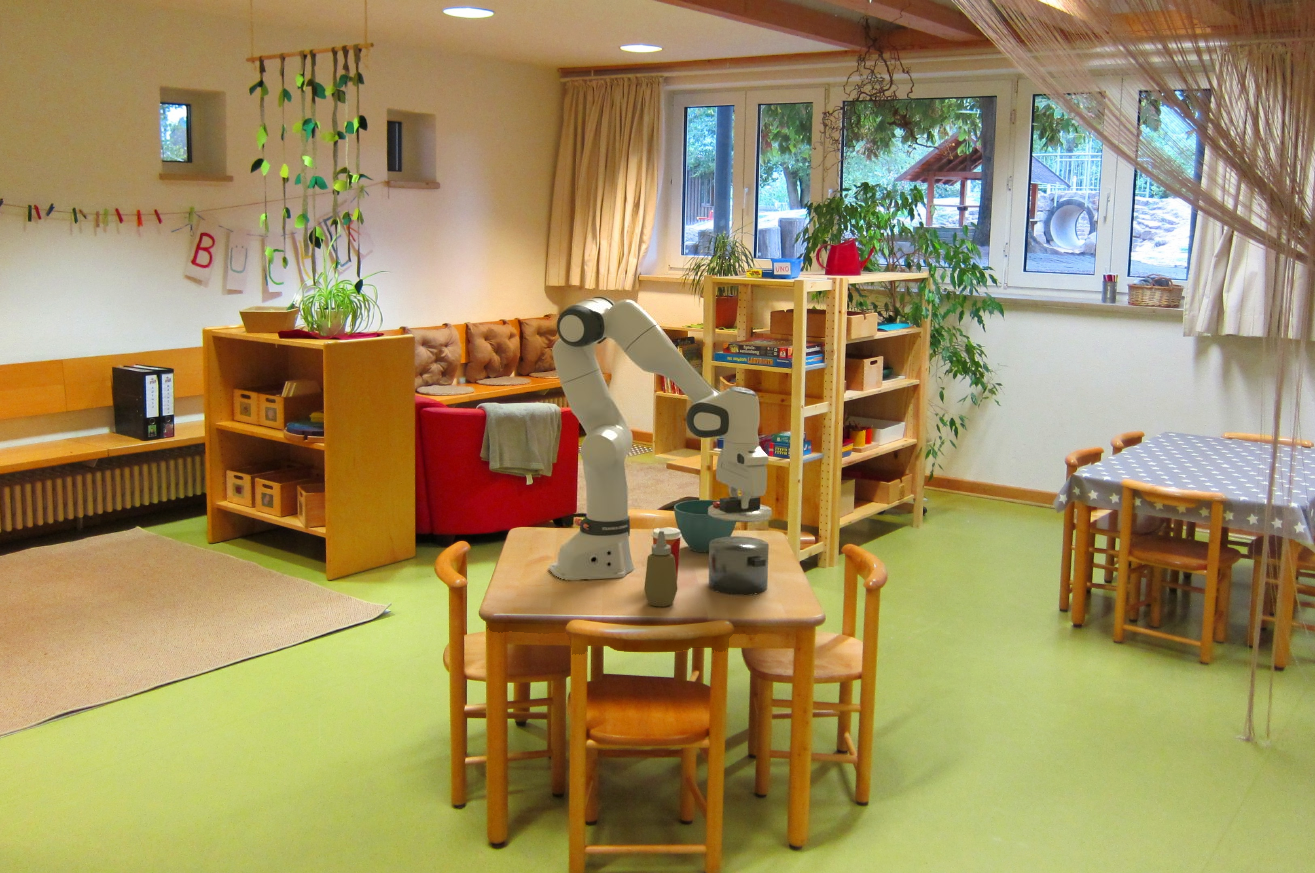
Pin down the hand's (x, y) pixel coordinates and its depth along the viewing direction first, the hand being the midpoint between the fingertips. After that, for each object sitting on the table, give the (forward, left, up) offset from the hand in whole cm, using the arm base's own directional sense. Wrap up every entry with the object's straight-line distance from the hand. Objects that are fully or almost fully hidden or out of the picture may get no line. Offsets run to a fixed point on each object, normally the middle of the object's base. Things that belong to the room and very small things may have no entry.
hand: (739, 506), depth 292 cm
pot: (0, 0, -21) cm, 21 cm away
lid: (0, 0, -2) cm, 2 cm away
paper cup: (-16, +9, -21) cm, 28 cm away
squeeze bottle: (-24, -5, -21) cm, 32 cm away
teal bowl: (+8, +34, -21) cm, 41 cm away
